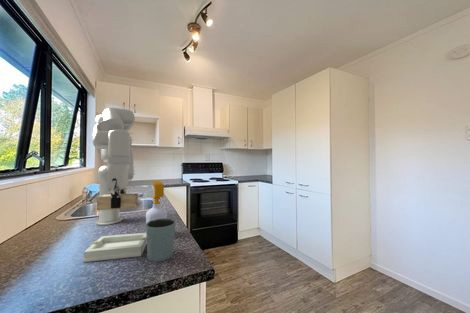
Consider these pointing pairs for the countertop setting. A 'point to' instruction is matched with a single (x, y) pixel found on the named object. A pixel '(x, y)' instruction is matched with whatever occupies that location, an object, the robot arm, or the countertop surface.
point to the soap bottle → (156, 203)
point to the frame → (126, 201)
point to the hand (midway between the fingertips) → (118, 205)
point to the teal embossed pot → (160, 239)
